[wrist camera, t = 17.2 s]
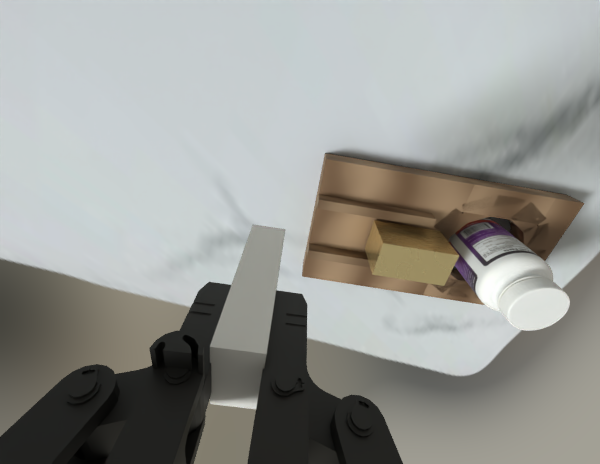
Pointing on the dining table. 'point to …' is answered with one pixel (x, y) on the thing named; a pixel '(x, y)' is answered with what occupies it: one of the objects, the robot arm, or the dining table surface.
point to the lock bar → (409, 253)
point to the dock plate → (418, 218)
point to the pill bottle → (508, 275)
